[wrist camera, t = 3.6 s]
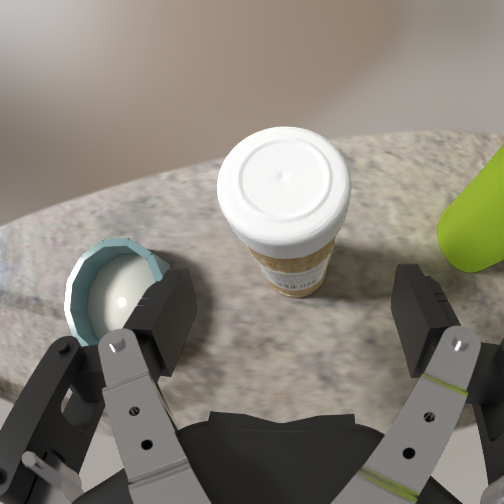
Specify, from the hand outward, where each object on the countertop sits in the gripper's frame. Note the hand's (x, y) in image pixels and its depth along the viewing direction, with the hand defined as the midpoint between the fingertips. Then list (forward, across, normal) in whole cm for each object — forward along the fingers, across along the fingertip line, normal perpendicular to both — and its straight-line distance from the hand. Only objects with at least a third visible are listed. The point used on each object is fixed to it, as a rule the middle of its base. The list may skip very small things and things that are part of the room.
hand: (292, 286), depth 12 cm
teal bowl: (+8, +13, +7) cm, 17 cm away
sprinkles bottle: (+10, 0, +5) cm, 11 cm away
